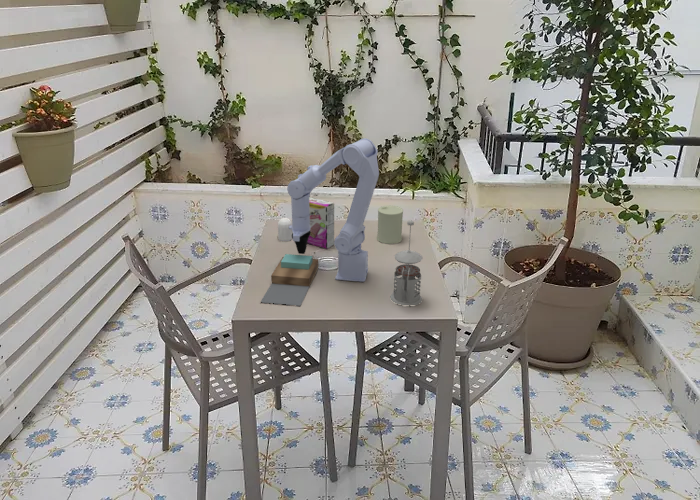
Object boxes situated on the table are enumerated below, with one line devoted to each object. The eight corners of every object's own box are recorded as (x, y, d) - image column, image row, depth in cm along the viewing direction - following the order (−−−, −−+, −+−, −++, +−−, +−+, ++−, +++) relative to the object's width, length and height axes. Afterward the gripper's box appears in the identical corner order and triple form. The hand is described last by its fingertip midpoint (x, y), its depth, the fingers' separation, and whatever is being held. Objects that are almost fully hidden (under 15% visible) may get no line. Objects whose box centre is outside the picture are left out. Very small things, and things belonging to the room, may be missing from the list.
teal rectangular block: (312, 261, 186) (312, 256, 185) (308, 269, 180) (308, 263, 179) (285, 259, 187) (285, 254, 186) (281, 267, 181) (280, 261, 181)
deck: (318, 267, 188) (318, 259, 187) (309, 287, 176) (309, 278, 175) (283, 264, 190) (282, 256, 189) (271, 284, 177) (271, 275, 176)
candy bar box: (301, 242, 207) (300, 200, 200) (309, 238, 211) (308, 196, 204) (327, 249, 201) (326, 206, 195) (335, 245, 205) (334, 202, 199)
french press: (424, 292, 173) (430, 215, 163) (420, 311, 163) (425, 231, 153) (392, 289, 175) (396, 212, 165) (386, 307, 165) (389, 227, 155)
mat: (309, 287, 176) (309, 286, 176) (300, 306, 165) (300, 305, 165) (271, 284, 177) (271, 283, 177) (260, 302, 167) (260, 302, 166)
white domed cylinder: (295, 236, 212) (294, 216, 209) (288, 242, 207) (287, 221, 204) (282, 234, 214) (281, 214, 210) (275, 239, 209) (274, 219, 206)
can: (385, 232, 217) (386, 202, 212) (406, 238, 212) (408, 207, 207) (372, 240, 210) (372, 209, 205) (393, 246, 205) (394, 214, 200)
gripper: (294, 206, 191) (295, 243, 196) (282, 221, 178) (284, 261, 183) (314, 207, 190) (315, 244, 195) (304, 223, 177) (305, 262, 182)
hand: (301, 252), depth 189 cm, fingers closed
